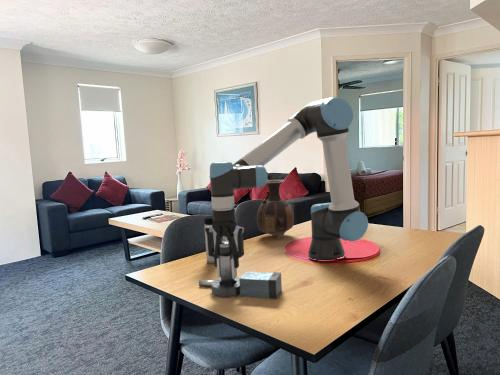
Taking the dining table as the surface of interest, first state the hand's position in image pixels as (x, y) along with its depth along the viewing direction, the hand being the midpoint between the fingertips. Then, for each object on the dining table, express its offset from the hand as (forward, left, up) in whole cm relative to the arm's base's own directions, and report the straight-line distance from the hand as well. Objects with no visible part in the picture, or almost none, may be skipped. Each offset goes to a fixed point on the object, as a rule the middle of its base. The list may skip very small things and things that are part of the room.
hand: (227, 276), depth 127 cm
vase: (+2, -75, -5) cm, 75 cm away
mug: (+18, -49, -5) cm, 52 cm away
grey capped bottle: (0, 0, -4) cm, 4 cm away
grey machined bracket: (-3, 0, -5) cm, 6 cm away
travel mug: (+18, -30, -5) cm, 35 cm away
